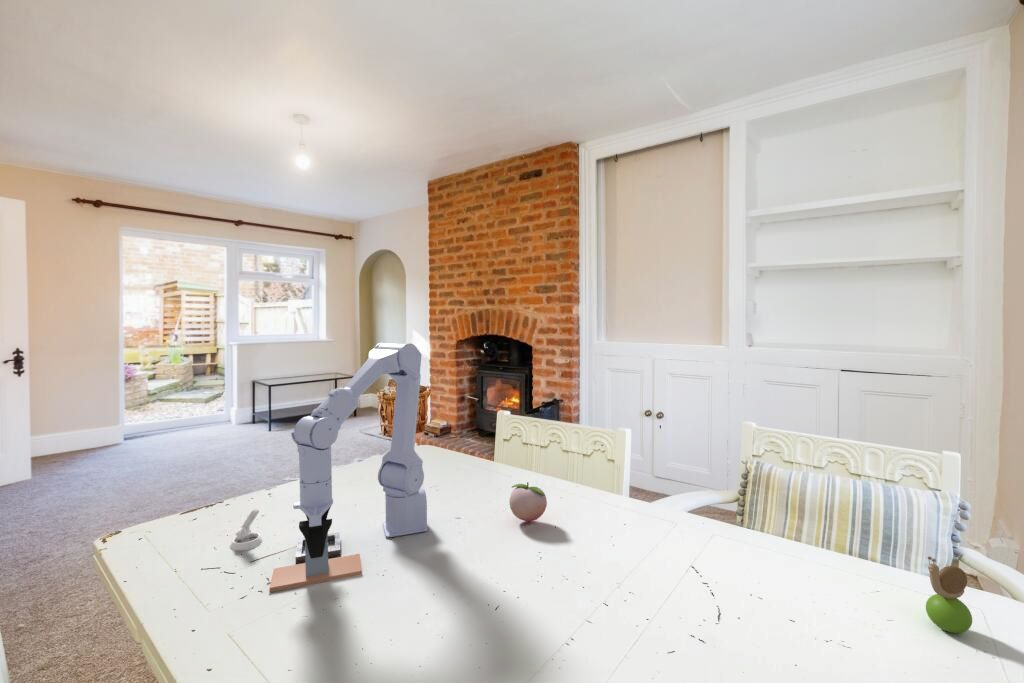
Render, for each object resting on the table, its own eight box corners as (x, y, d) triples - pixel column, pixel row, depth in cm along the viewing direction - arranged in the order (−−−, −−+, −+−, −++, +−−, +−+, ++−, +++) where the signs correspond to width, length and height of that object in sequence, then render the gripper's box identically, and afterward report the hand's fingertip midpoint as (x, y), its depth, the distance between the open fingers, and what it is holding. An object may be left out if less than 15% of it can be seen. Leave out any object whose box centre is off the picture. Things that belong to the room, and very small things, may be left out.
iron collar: (339, 538, 105) (339, 532, 105) (340, 556, 97) (340, 549, 97) (298, 545, 102) (298, 538, 102) (295, 564, 94) (295, 557, 94)
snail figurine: (910, 619, 77) (913, 548, 76) (945, 617, 77) (949, 547, 77) (943, 642, 71) (947, 566, 71) (981, 640, 72) (985, 564, 71)
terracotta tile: (359, 557, 97) (359, 553, 97) (361, 574, 90) (361, 570, 90) (273, 572, 91) (273, 568, 91) (269, 592, 84) (269, 587, 84)
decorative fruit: (503, 526, 111) (502, 485, 111) (515, 513, 119) (515, 474, 118) (540, 533, 108) (540, 491, 107) (550, 519, 115) (550, 479, 115)
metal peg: (328, 562, 93) (327, 523, 93) (328, 572, 89) (327, 532, 89) (306, 566, 92) (305, 526, 91) (305, 577, 88) (304, 535, 88)
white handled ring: (270, 531, 99) (244, 519, 98) (247, 565, 101) (221, 553, 99) (281, 513, 105) (257, 501, 104) (259, 545, 107) (235, 533, 105)
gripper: (295, 469, 95) (297, 534, 96) (289, 494, 82) (291, 570, 82) (332, 465, 98) (333, 529, 98) (332, 489, 84) (334, 562, 85)
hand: (317, 547), depth 90 cm, fingers open, 7 cm apart
